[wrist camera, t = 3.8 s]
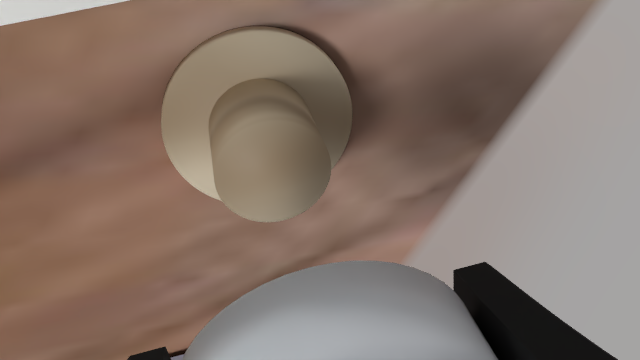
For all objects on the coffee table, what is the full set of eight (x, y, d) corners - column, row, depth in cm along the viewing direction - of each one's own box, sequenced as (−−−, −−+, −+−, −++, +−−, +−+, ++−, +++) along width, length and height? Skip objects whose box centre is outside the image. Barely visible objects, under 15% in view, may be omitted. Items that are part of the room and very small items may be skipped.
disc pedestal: (356, 173, 20) (387, 232, 17) (190, 213, 19) (193, 281, 16) (336, 7, 17) (370, 45, 14) (134, 49, 16) (126, 98, 13)
